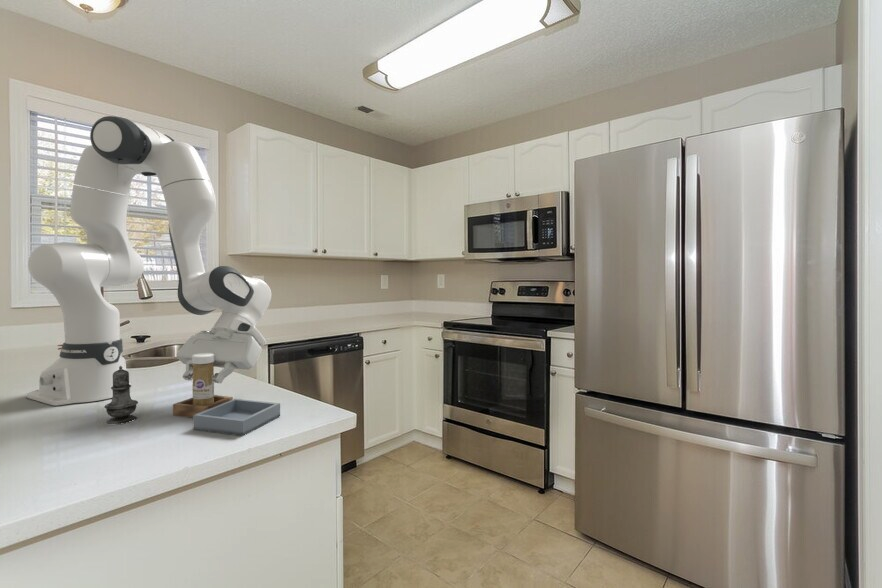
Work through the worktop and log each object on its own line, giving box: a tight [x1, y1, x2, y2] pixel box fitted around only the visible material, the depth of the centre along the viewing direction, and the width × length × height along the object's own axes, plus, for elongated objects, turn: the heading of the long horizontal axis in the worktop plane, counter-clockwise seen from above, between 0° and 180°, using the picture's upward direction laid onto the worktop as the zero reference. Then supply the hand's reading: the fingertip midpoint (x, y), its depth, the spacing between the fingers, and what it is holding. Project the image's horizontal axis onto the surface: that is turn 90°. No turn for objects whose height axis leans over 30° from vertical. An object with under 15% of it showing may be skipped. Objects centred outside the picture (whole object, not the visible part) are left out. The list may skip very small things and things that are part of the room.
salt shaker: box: [103, 366, 139, 425], centre depth 92 cm, size 6×6×12 cm
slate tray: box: [193, 398, 281, 436], centre depth 92 cm, size 12×12×3 cm
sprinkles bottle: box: [192, 353, 215, 406], centre depth 98 cm, size 5×5×13 cm
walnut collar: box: [172, 394, 234, 419], centre depth 99 cm, size 9×9×2 cm
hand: (201, 380), depth 98 cm, fingers open, 7 cm apart
